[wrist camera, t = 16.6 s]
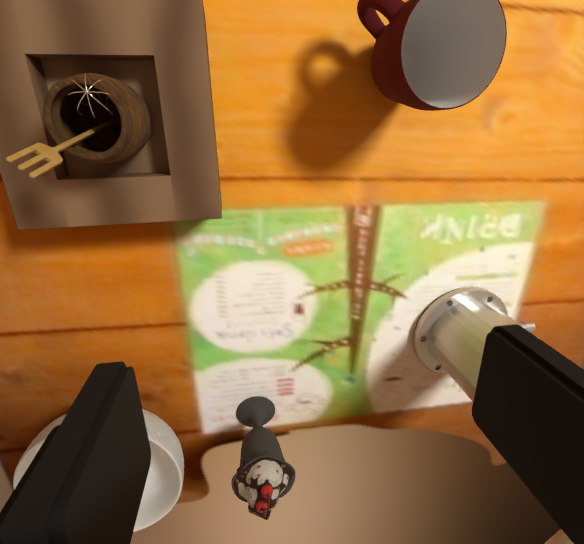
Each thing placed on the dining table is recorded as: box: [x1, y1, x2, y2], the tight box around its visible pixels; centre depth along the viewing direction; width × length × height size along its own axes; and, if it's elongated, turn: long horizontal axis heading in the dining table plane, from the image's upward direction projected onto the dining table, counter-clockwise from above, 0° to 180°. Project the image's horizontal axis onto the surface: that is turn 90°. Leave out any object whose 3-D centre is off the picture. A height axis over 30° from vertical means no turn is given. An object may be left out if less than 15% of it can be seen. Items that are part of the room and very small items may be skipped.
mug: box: [357, 0, 507, 111], centre depth 30 cm, size 11×8×10 cm
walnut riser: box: [0, 0, 222, 230], centre depth 30 cm, size 16×16×6 cm
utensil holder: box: [6, 73, 151, 178], centre depth 24 cm, size 6×6×12 cm
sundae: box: [232, 397, 295, 520], centre depth 41 cm, size 7×7×15 cm
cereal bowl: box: [13, 409, 184, 532], centre depth 42 cm, size 17×17×7 cm
